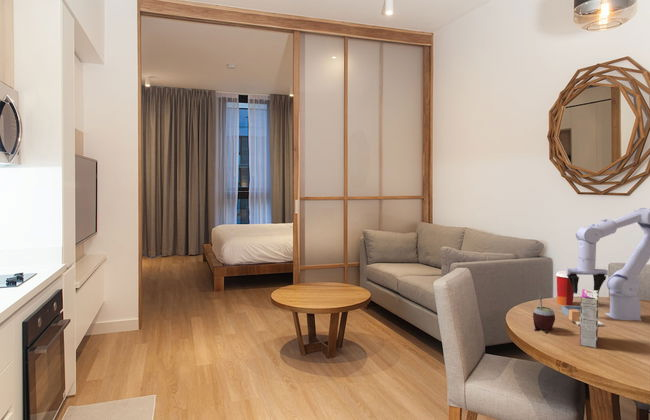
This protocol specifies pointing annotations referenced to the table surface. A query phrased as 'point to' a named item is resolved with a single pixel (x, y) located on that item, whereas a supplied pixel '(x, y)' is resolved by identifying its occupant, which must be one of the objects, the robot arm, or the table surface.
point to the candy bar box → (589, 318)
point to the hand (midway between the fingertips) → (585, 293)
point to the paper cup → (564, 289)
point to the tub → (566, 308)
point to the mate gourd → (543, 317)
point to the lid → (577, 317)
